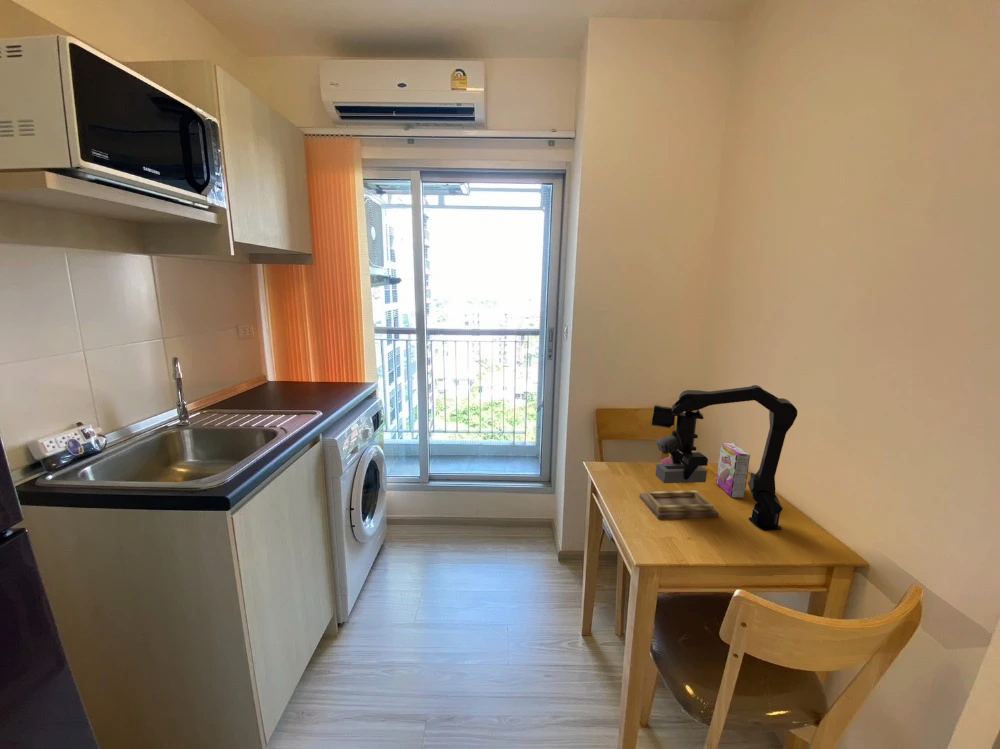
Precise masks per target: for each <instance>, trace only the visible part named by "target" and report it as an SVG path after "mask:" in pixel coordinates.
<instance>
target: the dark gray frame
mask: <svg viewBox="0 0 1000 749" xmlns="http://www.w3.org/2000/svg"><path fill="white" fill-rule="evenodd" d="M655 465H656V467H655V477H657V478H658V479H659V481H661V482H662V483H663V484H686V483H688V484H690V483H691V484H693V483H695V484H696V483H706V481H707V473H708V469H705V468H704V466H698V467H697V468H696V469H695V471H694V472H693V473H692V474H691V476H690V477H689V478H688V480H685V479H684V465H683V463H681V464H660V463H656V464H655Z"/></svg>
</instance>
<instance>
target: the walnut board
mask: <svg viewBox="0 0 1000 749" xmlns="http://www.w3.org/2000/svg"><path fill="white" fill-rule="evenodd" d="M639 499H640V500H641V501H642V502H643V503H644V505H645V506H646V507H647V508H648V509H649V510H650V512H651V513H652V514H653V515H654V517H656V519H657V520H666V519H667V520H668V519H670V520H671V519H672V520H673V519H699V518H700V519H701V518H703V519H704V518H719V515H720V513H719V511H717V510H716V509H715V508H714V506H715V505H714V504H712V503H711V502H710V501H709V500H708V499H707V498H706V497H704V495H702V494H701V493H700V492H698V491H697V490H661V491H644V492H642V493H639Z"/></svg>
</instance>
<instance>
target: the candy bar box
mask: <svg viewBox="0 0 1000 749" xmlns="http://www.w3.org/2000/svg"><path fill="white" fill-rule="evenodd" d="M719 448H720V449H719V454H718V456H719V457H718V464H717V473H716V480H715V483H716V485H717V486H718V487H719V488H721V489H722V491H724V492H725V493H726V494H727V496H729V497H730V498H733V499H745V496H746V495H745V494H746V488H747V487H746V486H747V480H748V472H749V466H750V465H749V464H750V457H751V454H749V453H748V452H747V451H745V450H744V449H742V448H741V447H739V446H738V445H737V444H735V443H734V442H720V447H719Z"/></svg>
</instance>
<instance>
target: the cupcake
mask: <svg viewBox="0 0 1000 749" xmlns="http://www.w3.org/2000/svg"><path fill="white" fill-rule="evenodd" d="M668 454H669V456H665V457H663V458H661V459H660V463H659V464H673V463H672V459H671V455H670V453H668ZM681 463H682V462H681Z"/></svg>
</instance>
